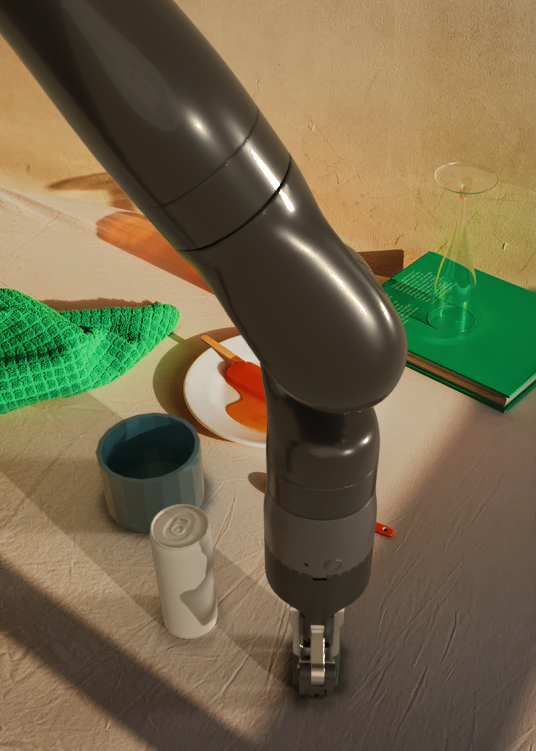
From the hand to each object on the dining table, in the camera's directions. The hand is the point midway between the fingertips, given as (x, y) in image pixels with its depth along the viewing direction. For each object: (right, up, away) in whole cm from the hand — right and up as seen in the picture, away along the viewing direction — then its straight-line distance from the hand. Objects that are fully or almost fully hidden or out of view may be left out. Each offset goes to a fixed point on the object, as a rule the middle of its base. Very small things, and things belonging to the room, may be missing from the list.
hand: (313, 667), depth 60 cm
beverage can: (-10, +3, +4) cm, 12 cm away
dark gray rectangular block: (0, 0, 0) cm, 0 cm away
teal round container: (-15, +11, +16) cm, 25 cm away
